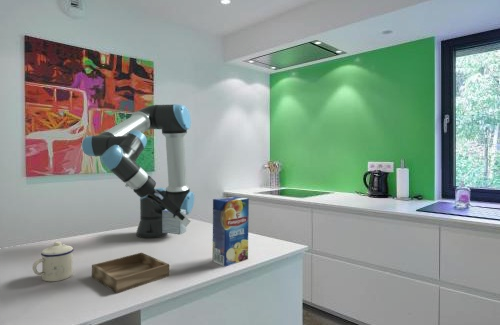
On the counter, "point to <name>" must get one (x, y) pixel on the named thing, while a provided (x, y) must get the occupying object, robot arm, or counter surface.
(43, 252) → the teacup with lid
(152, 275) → the tray
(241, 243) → the juice carton
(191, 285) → the counter surface
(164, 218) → the medicine box
